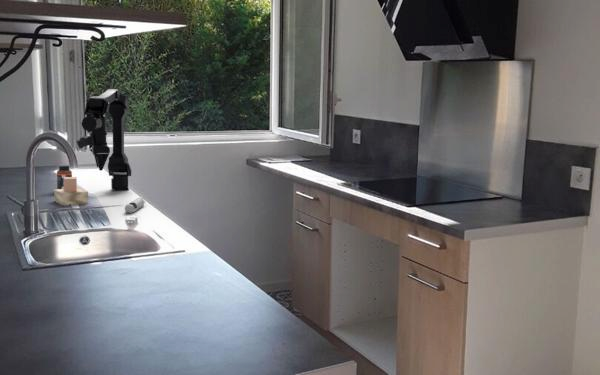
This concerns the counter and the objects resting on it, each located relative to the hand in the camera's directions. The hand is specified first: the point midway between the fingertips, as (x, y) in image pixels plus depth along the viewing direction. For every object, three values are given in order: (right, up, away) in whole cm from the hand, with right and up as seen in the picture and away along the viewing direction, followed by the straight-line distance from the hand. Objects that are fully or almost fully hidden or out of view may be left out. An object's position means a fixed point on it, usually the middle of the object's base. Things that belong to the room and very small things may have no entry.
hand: (99, 168), depth 253 cm
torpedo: (+17, -16, -11) cm, 26 cm away
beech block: (-10, -14, -2) cm, 17 cm away
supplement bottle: (-21, -9, +19) cm, 30 cm away
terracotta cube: (-10, -9, -4) cm, 14 cm away
